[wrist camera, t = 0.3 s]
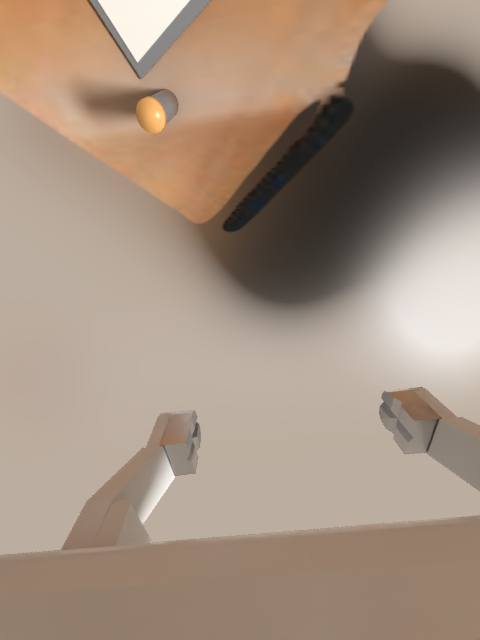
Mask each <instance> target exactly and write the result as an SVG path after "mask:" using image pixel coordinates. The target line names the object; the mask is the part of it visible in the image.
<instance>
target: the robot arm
mask: <svg viewBox="0 0 480 640" xmlns="http://www.w3.org/2000/svg"><path fill="white" fill-rule="evenodd" d="M382 399H383V401H384V402H383V403H382V404H381V405H380V409H379V414H380V419H381V421H382V423H383V425H384V426H385V427H386V429H387V430H389V431H391V432H392V433H394V440H395V442H396V443H397V444H398V446H399V447H400V448H401V450H402V451H403V452H404V454H415V453H427V454H428V455H429V456H431V457H432V458H434V459H435V460H436V461H438V462H439V463H441V464H442V465H444V466H445V467H446V468H448V469H449V470H450V471H452V472H453V473H455V474H456V475H458V476H459V477H460V478H462V479H463V480H465V481H466V482H467V483H469V484H470V485H472V486H473V487H474V488H476V489H477V490H479V491H480V425H478V424H476V423H473V422H471V421H469V420H467V419H465V418H462V417H456V416H455V415H454V414H453V413H452V412H451V411H450V410H449V409H447V408H446V407H445V406H444V405H443V404H442V403H441V402H440V401H439V400H438V399H436V398H435V397H434V396H433V395H432V394H431V393H430V392H429V391H427V390H426V389H425V388H423V387H417V388H409V389H398V390H389V391H384V392H383V394H382ZM196 420H197V415H196V412H195V411H181V412H171V413H161V414H160V415H159V416H158V418H157V421H156V423H155V426H154V428H153V431H152V433H151V436H150V438H149V441H148V444H147V446H146V448H142V449H141V450H140V451H139V452H138V453H137V454H136V455H135V456H134V457H133V458H132V459H130V460H129V461H128V463H126V464H125V465H124V466H123V467H122V468H121V469H120V470H119V471H118V472H117V473H116V474H115V475H114V476H113V477H112V478H111V479H110V480H109V481H107V482H106V483H105V484H104V485H103V486H102V487H101V488H100V489H99V490H98V491H97V492H96V493H95V494H94V495H93V496H92V497H91V498H90V499H89V500H88V501H87V502H86V504H85V505H84V507H83V509H82V511H81V513H80V515H79V517H78V519H77V521H76V522H75V524H74V526H73V528H72V530H71V532H70V534H69V536H68V537H67V539H66V541H65V543H64V545H63V547H62V549H61V550H57V551H56V550H55V551H44V552H33V553H32V552H31V553H19V554H6V555H0V640H480V516H470V517H456V518H443V519H431V520H420V521H408V522H394V523H382V524H370V525H358V526H346V527H334V528H321V529H309V530H297V531H285V532H273V533H262V534H249V535H237V536H225V537H212V538H201V539H188V540H176V541H164V542H152V543H151V539H150V537H149V535H148V533H147V532H146V530H145V528H144V526H143V523H144V522H145V520H146V519H147V517H148V516H149V514H150V513H151V511H152V510H153V508H154V507H155V506H156V504H157V503H158V501H159V500H160V498H161V497H162V495H163V494H164V493H165V491H166V490H167V488H168V487H169V485H170V484H171V482H172V481H173V479H174V478H175V476H178V475H186V474H194V473H196V467H197V461H198V455H197V452H196V451H197V449H198V448H199V447H200V441H201V432H200V426H199V424H198V423H197V422H196Z"/></svg>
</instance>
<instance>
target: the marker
mask: <svg viewBox="0 0 480 640" xmlns="http://www.w3.org/2000/svg"><path fill="white" fill-rule="evenodd" d="M177 111H178V101H177V98H176V96H175V95H174V94H173V93H172V92H171V91H170V90H167V89H164V90H161V91H159V92H157V93H155V94H153V95H151V96H147V97H145V98H143V99H141V100H140V101H139V102H138V103H137V106H136V116H137V119H138V122H139V124H140V125H141V127H142V128H143V129H144V130H145V131H147V132H149V133H151V134H157V133H159V132H160V131H161V130H162V129H163V128H164V127H165V125H166V124H167V123H168V122H169V121H170V120H171V119H172V118H173V117H174V116H175V115H176V113H177Z"/></svg>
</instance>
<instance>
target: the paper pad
mask: <svg viewBox="0 0 480 640" xmlns="http://www.w3.org/2000/svg"><path fill="white" fill-rule="evenodd" d="M210 1H211V0H90V2H91V3H92V5H93V6H94V8H95V9H96V11H97V12H98V14H99V15H100V17H101V18H102V20H103V21H104V23H105V24H106V26H107V28H108V29H109V31H110V32H111V34H112V35H113V37H114V38H115V40H116V41H117V43H118V44H119V46H120V47H121V49H122V51H123V52H124V54H125V55H126V57H127V58H128V60H129V61H130V63H131V64H132V66H133V67H134V69H135V70H136V72H137V74H138V75H139V77H140V78H141V79H142V78H143V77H144V76H145V75H146V74H147V73H148V71H149V70H150V69H151V68H152V67H153V66H154V65H155V63H156V62H157V61H158V60H159V59H160V58H161V57H162V55H163V54H164V53H165V52H166V51H167V50H168V49H169V48H170V46H171V45H172V44H173V43H174V42H175V41H176V40H177V38H178V37H179V36H180V35H181V34H182V33H183V32H184V30H185V29H186V28H187V27H188V26H189V25H190V24H191V23H192V21H193V20H194V19H195V18H196V17H197V16H198V15H199V13H200V12H201V11H202V10H203V9H204V8H205V7H206V5H207V4H208V3H209V2H210Z"/></svg>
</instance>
